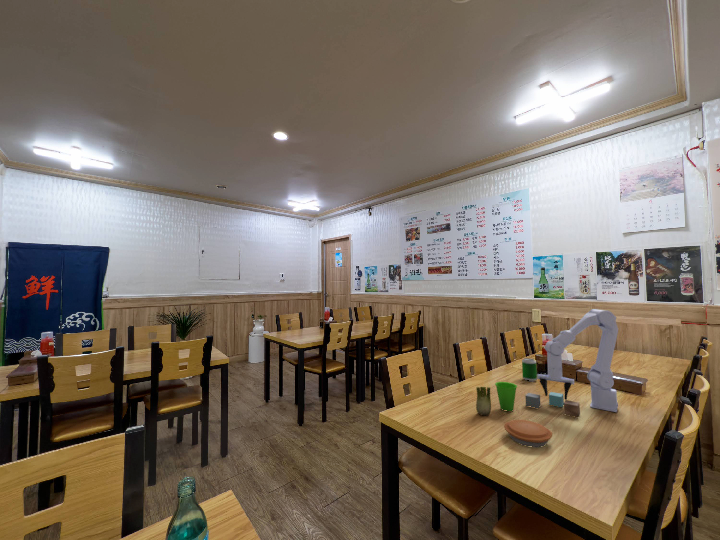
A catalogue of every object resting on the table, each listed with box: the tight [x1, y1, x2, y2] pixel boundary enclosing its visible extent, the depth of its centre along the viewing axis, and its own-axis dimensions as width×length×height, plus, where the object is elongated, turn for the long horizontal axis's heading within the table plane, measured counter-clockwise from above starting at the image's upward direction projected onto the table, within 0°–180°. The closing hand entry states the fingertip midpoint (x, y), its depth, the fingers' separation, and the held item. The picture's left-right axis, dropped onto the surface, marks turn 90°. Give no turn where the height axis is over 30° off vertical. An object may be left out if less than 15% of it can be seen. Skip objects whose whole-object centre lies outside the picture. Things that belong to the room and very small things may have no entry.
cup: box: [494, 381, 518, 412], centre depth 141 cm, size 9×9×11 cm
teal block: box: [548, 391, 565, 408], centre depth 145 cm, size 5×5×5 cm
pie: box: [503, 419, 553, 448], centre depth 113 cm, size 15×16×5 cm
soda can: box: [521, 357, 538, 382], centre depth 184 cm, size 8×8×12 cm
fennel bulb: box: [475, 386, 492, 416], centre depth 135 cm, size 6×5×12 cm
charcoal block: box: [524, 392, 541, 409], centre depth 144 cm, size 5×5×5 cm
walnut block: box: [563, 399, 581, 418], centre depth 134 cm, size 5×5×5 cm
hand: (555, 397), depth 145 cm, fingers open, 7 cm apart
